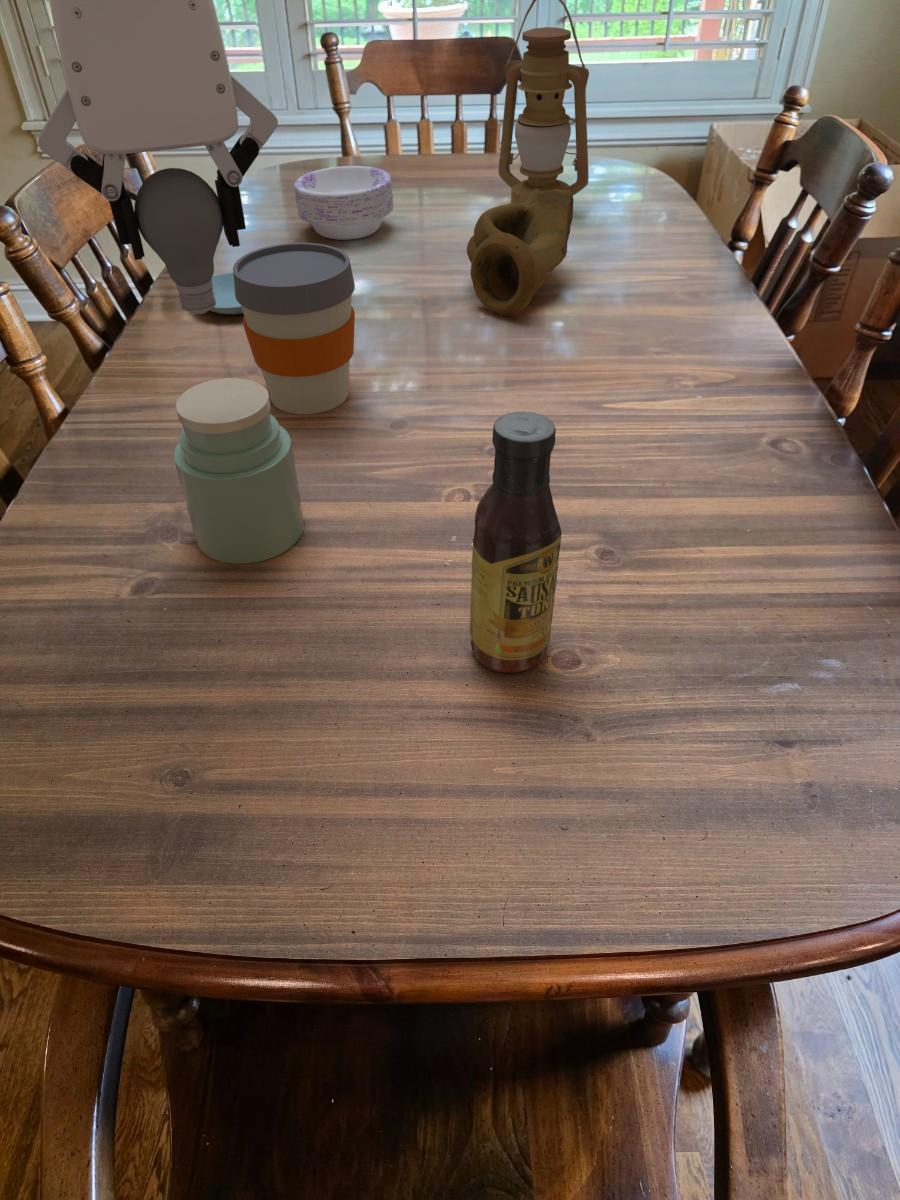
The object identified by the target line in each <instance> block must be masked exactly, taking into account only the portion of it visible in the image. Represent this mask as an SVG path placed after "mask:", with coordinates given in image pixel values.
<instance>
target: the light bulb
mask: <svg viewBox="0 0 900 1200" xmlns="http://www.w3.org/2000/svg"><path fill="white" fill-rule="evenodd" d="M133 209H134V214H135V218H136V222H137V226H138V229H139V233H140V236H142V238H143V240H144V241H145V242H146V243H147V244H148V246H149V247H150V248H151V249H152V251H153V252H154V253H155V254H156V255H157V256H158V257H159V259H160V261H162V262H163V263H164V265H165V268H166V270H167V273H168V275H169V277H170V279H171V280H172V282H174V283H175V286H176V290H177V293H178V297H179V302H180V307H181V309H182V310H183V311H184V312H188V313H191V314H193V315H203V314H205V313H208V312H209V310H210V309H212V308H213V307H215V305H216V300H215V297H214V292H213V287H212V276H214V273H215V264H214V258H215V254H216V251H217V247H218V245H219V242H220V238H221V235H222V232H223V231H224V228H223V212H222V206H221V203H220V201H219V198H218V196H217V192H215V190H214V189H213V188H212V187H211V185H209V183H208V182H207V181H206V180H205V179H204V178H203V177H201V176H200V175H198V174H196V173H195V172H193V171H191V170H188V169H184V168H181V167H178V168H177V167H169V168H168V167H167V168H162V169H160V170H156V171H155V172H153V173H151V174H150V175H148V177H147V178H146V179H145V180H144V181H143V182H142V184H141V185H140V187H139V189H138V191H137V193H136V196H135V201H134V206H133Z"/></svg>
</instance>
